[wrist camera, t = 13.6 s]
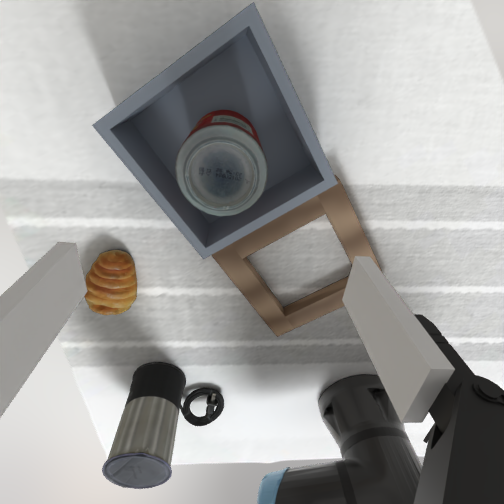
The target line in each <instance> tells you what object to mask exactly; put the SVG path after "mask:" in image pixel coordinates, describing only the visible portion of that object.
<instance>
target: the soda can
mask: <svg viewBox="0 0 504 504" xmlns="http://www.w3.org/2000/svg"><path fill="white" fill-rule="evenodd" d="M175 173H176V179H177V183H178V185H179V188H180V190H181V192H182V194H183V195H184V196H185V198H186V199H187V200H188V201H189V202H190V203H191V204H192V205H193V206H194V207H195V208H197V209H200V210H201V211H203V212H205V213H208V214H211V215H215V216H232V215H235V214H238V213H240V212H242V211H244V210H246V209H248V208H250V207H251V206H252V205H253V204H254V203H255V202H256V201H257V200H258V199H259V198H260V197H261V195H262V193H263V191H264V189H265V186H266V182H267V177H268V165H267V159H266V157H265V154H264V151H263V149H262V146H261V143H260V141H259V138H258V135H257V132H256V130H255V128H254V127H253V125H252V124H251V122H250V121H249V120H248V119H247V118H246V117H244V116H243V115H241V114H239V113H238V112H235V111H231V110H217V111H212V112H210V113H208V114H206V115H205V116H203V117H202V118H201V119H200V120H199V121H198V122H197V124H196V125H195V127H194V128H193V130H192V131H191V132H190V134H189V135H188V137H187V138H186V139H185V141H184V142H183V144H182V145H181V147H180V149H179V151H178V154H177V157H176V163H175Z"/></svg>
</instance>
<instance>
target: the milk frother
mask: <svg viewBox="0 0 504 504" xmlns="http://www.w3.org/2000/svg"><path fill="white" fill-rule="evenodd" d="M185 385H186V378H185V375H184V374H183V372H182V371H181V370H180V369H178V368H177V367H175V366H173V365H170V364H167V363H160V362H158V363H156V362H155V363H149V364H145V365H143V366H141V367H139V368H138V369H137V370H136V371H135V372H134V375H133V381H132V384H131V388H130V393H129V396H128V399H127V402H126V405H125V409H124V411H123V414H122V417H121V420H120V423H119V426H118V429H117V432H116V435H115V438H114V442H113V445H112V448H111V451H110V454H109V457H108V460H107V461H106V462H105V464H104V466H103V468H102V472H103V475H104V476H105V477H106V479H108V480H109V481H110V482H112V483H114V484H116V485H119V486H122V487H128V488H135V489H140V488H141V489H143V488H152V487H155V486H158V485H161V484H163V483H165V482H166V481H167V480H169V478H170V477H171V473H172V470H171V467H170V466H171V460H172V454H173V447H174V441H175V434H176V428H177V421H178V415H179V409H181V412H182V414H183V416H184V418H185V419H186V420H187V421H188V422H189V423H190V424H192V425H195V426H204V425H207V424H209V423H211V422H212V421H214V420H215V419H217V417H218V416H219V415H220V414H221V412H222V411H223V408H224V399H223V396H222V395H221V394H220V393H219V392H218V391H216V390H214V389H210V388H199V389H197V390H194V391H193V392H191V393H190V394H189V395H188V396H187V398H186V400H185V402H184V405H183V407H182V405H181V398H182V394H183V389H184V387H185ZM202 395H208V397H207V405H208V406H207V409H206V415H205V416H203V417H197V416H195V415H194V414H192V412H191V411H190V404H191V402H192V401H193V400H194V399H195V398H197V397H199V396H202ZM215 406H217V407H216V410H215V411H214V407H215Z"/></svg>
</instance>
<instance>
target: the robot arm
mask: <svg viewBox="0 0 504 504" xmlns="http://www.w3.org/2000/svg"><path fill="white" fill-rule="evenodd" d="M86 293H87V288H86V283H85V279H84V275H83V271H82V266H81V262H80V258H79V254H78V249H77V245H76V243H66V242H58V243H57V244H56V245H55V246H54V247H53V248H51V249H50V250H49V251H48V252H47V253H46V254H45V255H44V256H43V257H42V258H41V259H40V260H39V261H38V262H36V263H35V264H34V265H33V266H32V267H31V268H30V269H29V270H28V271H27V272H26V273H25V274H24V275H23V276H22V277H21V278H19V279H18V281H16V282H15V283H14V284H13V285H12V286H11V287H10V288H9V289H8V290H6V291H5V292H4V293H3V294H2V295H1V296H0V418H1V416H2V415H3V413H4V412H5V410H6V409H7V408H8V406H9V405H10V403H11V402H12V400H13V399H14V397H15V396H16V394H17V393H18V392H19V390H20V389H21V387H22V386H23V384H24V383H25V381H26V380H27V378H28V377H29V376H30V374H31V373H32V371H33V370H34V368H35V367H36V365H37V364H38V362H39V361H40V360H41V358H42V357H43V355H44V354H45V352H46V351H47V349H48V348H49V347H50V345H51V343H52V342H53V341H54V339H55V338H56V336H57V335H58V333H59V332H60V331H61V329H62V328H63V326H64V325H65V323H66V322H67V320H68V319H69V317H70V316H71V315H72V313H73V312H74V310H75V309H76V307H77V306H78V304H79V303H80V301H81V300H82V299H83V297H84V296H85V294H86ZM342 301H343V303H344V305H345V307H346V309H347V311H348V313H349V315H350V317H351V319H352V321H353V324H354V326H355V328H356V330H357V332H358V334H359V336H360V338H361V340H362V342H363V344H364V346H365V348H366V351H367V353H368V355H369V357H370V359H371V361H372V363H373V365H374V367H375V369H376V371H377V373H378V375H379V376H375V375H359V376H353V377H349V378H346V379H343V380H341V381H338V382H336V383H335V384H333V385H331V386H330V387H329V388H328V389H326V390H325V391H324V393H323V394H322V395H321V397H320V400H319V409H320V413H321V417H322V419H323V422H324V423H325V425H326V426H327V428H328V430H329V431H330V433H331V435H332V436H333V438H334V439H335V441H336V443H337V444H338V446H339V448H340V451H341V454H342V458H343V460H342V461H335V462H329V463H322V464H315V465H309V466H302V467H295V468H289V467H287V468H285V469H284V470H281V471H276V472H271V473H268V474H267V475H266V476H265V477H264V478H263V479H262V482H261V484H260V487H259V492H258V498H257V504H504V390H503V389H501V388H500V387H499V386H498V385H497V384H495V383H493V382H492V381H490V380H488V379H486V378H483V377H480V376H476V375H474V373H473V372H472V371H471V370H470V368H469V367H468V366H467V365H466V363H465V362H464V361H463V360H462V358H461V357H460V356H459V355H458V353H457V352H456V351H455V350H454V349H453V347H452V346H451V345H450V344H448V341H447V340H446V339H445V337H444V336H442V334H441V332H440V331H439V330H438V329H437V327H436V326H435V325H434V324H433V323H432V322H431V321H429V320H428V319H427V318H425V317H424V316H423V315H414V314H413V313H412V312H411V310H410V309H409V308H408V306H407V305H406V304H405V302H404V301H403V300H402V298H401V297H400V296H399V294H398V293H397V292H396V290H395V289H394V288H393V286H392V285H391V284H390V282H389V281H388V280H387V278H386V277H385V276H384V274H383V273H382V272H381V270H380V269H379V268H378V266H377V265H376V264H375V262H374V261H373V260H372V259H371V257H366V256H355V258H354V261H353V265H352V268H351V272H350V275H349V278H348V282H347V285H346V289H345V292H344V296H343V299H342ZM428 412H429V413H430V414H431V416H432V418H433V420H434V421H435V423H434V425H433V426H432V428H431V429H430V431H429V432H428V434H427V436H426V437H425V439H424V440H423V441H424V442H426V443H427V442H428V445H427V449H426V453H425V458H424V462H423V466H422V465H421V463H420V461H419V459H418V457H417V455H416V453H415V451H414V449H413V447H412V445H411V443H410V441H409V439H408V436H407V434H406V432H405V428H404V423H417V422H423V420H424V419H425V417H426V416H427V414H428ZM428 440H429V441H428Z"/></svg>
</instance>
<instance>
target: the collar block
mask: <svg viewBox="0 0 504 504" xmlns="http://www.w3.org/2000/svg"><path fill="white" fill-rule="evenodd" d="M334 176H335V178H336V180H337V182H338V184H336V185H334V186H333V187H331V188H329V189H327V190H326V191H324V192H322V193H320V194H319V195H317V196H315V197H313V198H311V199H310V200H308V201H306V202H304V203H303V204H301V205H299V206H297V207H295V208H294V209H292V210H290V211H288V212H287V213H285V214H283V215H281V216H279V217H278V218H276V219H274V220H272V221H271V222H269V223H267V224H265V225H263V226H262V227H260V228H258V229H256V230H255V231H253V232H251V233H249V234H248V235H246V236H244V237H242V238H240V239H239V240H237V241H235V242H233V243H232V244H230V245H228V246H226V247H224V248H223V249H221V250H219V251H217V252H216V253H214V254H212V257H213V258H214V259H215V260H216V262H217V263H218V264H219V265H220V267H221V268H222V269H223V270H224V272H225V273H226V274H227V275H228V276H229V278H230V279H231V280H232V281H233V283H234V284H235V285H236V286H237V288H238V289H239V290H240V291H241V293H242V294H243V295H244V296H245V298H246V299H247V300H248V301H249V303H250V304H251V305H252V306H253V307H254V309H255V310H256V311H257V312H258V314H259V315H260V316H261V317H262V319H263V320H264V321H265V322H266V324H267V325H268V326H269V327H270V329H271V330H272V331H273V332H274V334H275V335H276V336H277V337H278V336H280V335H282V334H284V333H287V332H289V331H291V330H293V329H295V328H297V327H300V326H302V325H304V324H306V323H308V322H310V321H313V320H315V319H317V318H319V317H321V316H323V315H326V314H328V313H330V312H332V311H334V310H336V309H339V308H341V307H343V306H345V305H344V303H343V301H342V299H343V296H344V292H345V289H346V285H347V282H348V278H349V276H348V277H346V278H344V279H341V280H339V281H337V282H335V283H333V284H331V285H329V286H327V287H325V288H323V289H321V290H319V291H317V292H315V293H312V294H310V295H308V296H306V297H304V298H302V299H300V300H298V301H296V302H294V303H292V304H290V305H288V306H286V307H284V308H283V307H282V305H281V304H280V302H279V301H278V300H277V298H276V297H275V296H274V294H273V293H272V292H271V290H270V289H269V288H268V286H267V285H266V283H265V282H264V281H263V279H262V278H261V277H260V275H259V274H258V273H257V271H256V270H255V268H254V267H253V266H252V264H251V263H250V262H249V260H248V259H247V258H246V257H247V256H249V255H251V254H252V253H254V252H256V251H258V250H260V249H262V248H263V247H265V246H267V245H269V244H271V243H273V242H274V241H276V240H278V239H280V238H282V237H284V236H285V235H287V234H289V233H291V232H293V231H295V230H297V229H298V228H300V227H302V226H304V225H306V224H308V223H309V222H311V221H313V220H315V219H317V218H319V217H320V216H322V215H324V214H326V215H327V217H328V219H329V221H330V223H331V225H332V227H333V229H334V231H335V233H336V234H337V236H338V238H339V240H340V242H341V244H342V246H343V248H344V250H345V252H346V254H347V256H348V258H349V260H350V262H351V263H352V265H353V261H354V258H355V256H366V257H371V259H372V260H373V261H374V262H375V264H376V265H377V266H378V268H379V269H380V270H381V268H380V266H379V264H378V262H377V260H376V257H375V255H374V253H373V251H372V249H371V246H370V244H369V242H368V240H367V238H366V236H365V233H364V231H363V229H362V227H361V225H360V222H359V220H358V218H357V216H356V214H355V212H354V209H353V207H352V205H351V203H350V201H349V198H348V196H347V194H346V192H345V190H344V188H343V185H342V183H341V181H340V179H339V178H338V177H337V176H336V175H334ZM381 272H382V270H381Z"/></svg>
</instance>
